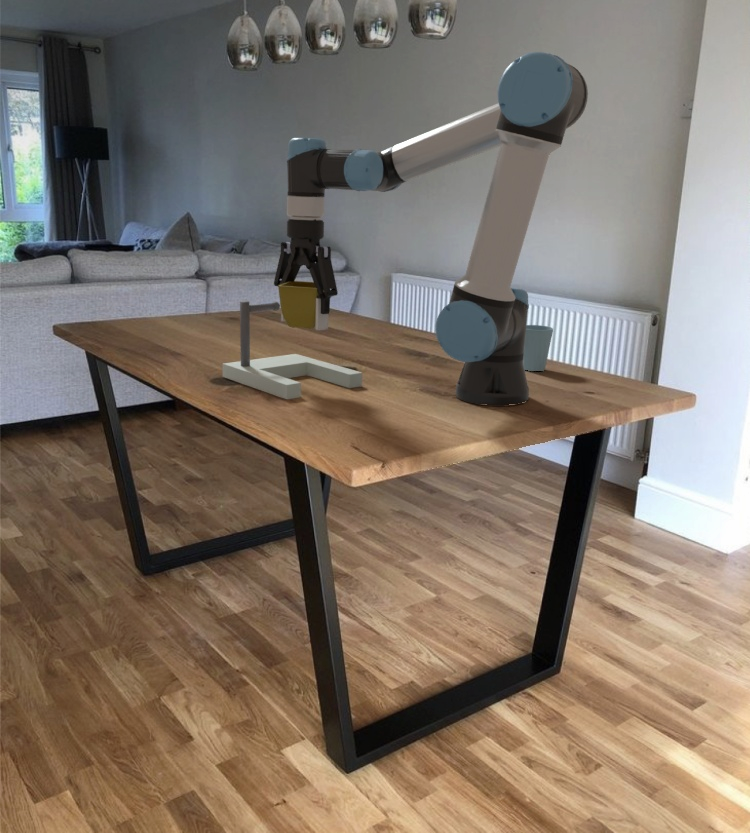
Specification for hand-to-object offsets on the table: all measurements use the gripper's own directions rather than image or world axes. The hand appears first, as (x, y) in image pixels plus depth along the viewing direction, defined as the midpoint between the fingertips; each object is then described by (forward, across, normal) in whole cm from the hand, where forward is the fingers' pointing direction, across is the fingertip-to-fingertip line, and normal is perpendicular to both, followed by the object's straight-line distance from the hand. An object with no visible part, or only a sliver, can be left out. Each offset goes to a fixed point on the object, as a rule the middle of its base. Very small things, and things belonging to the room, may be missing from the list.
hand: (304, 325), depth 169 cm
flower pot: (+1, 0, 0) cm, 1 cm away
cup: (+13, -19, -56) cm, 61 cm away
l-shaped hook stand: (+13, +4, 0) cm, 14 cm away
